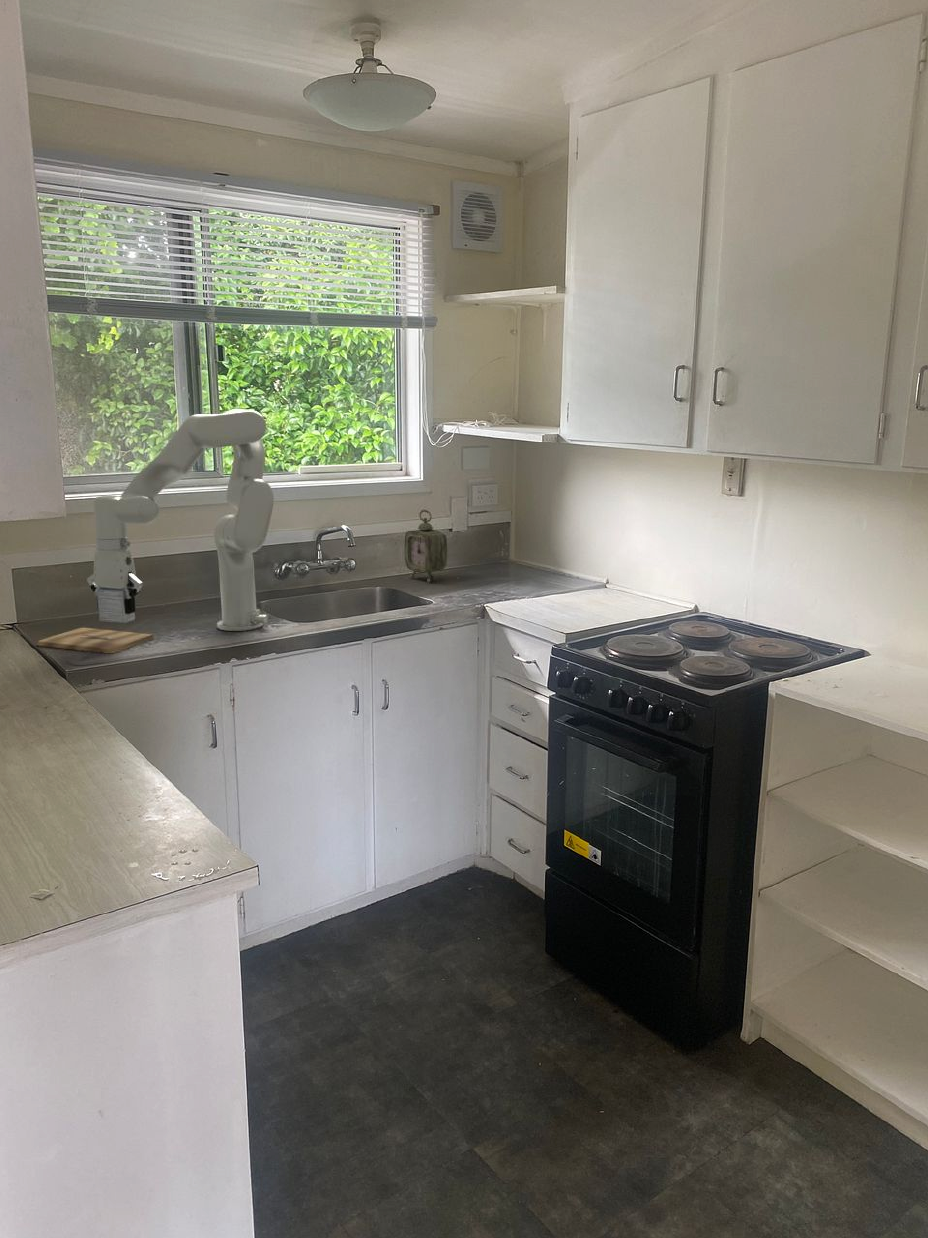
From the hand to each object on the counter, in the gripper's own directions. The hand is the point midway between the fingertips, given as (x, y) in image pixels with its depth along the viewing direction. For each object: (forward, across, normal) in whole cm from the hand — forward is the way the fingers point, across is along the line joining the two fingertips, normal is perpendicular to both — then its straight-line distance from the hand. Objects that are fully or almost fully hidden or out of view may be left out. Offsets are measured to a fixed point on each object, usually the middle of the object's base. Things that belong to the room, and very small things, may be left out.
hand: (116, 611), depth 240 cm
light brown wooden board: (+9, +8, 0) cm, 12 cm away
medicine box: (+3, 0, 0) cm, 3 cm away
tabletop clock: (+7, -42, -110) cm, 119 cm away
